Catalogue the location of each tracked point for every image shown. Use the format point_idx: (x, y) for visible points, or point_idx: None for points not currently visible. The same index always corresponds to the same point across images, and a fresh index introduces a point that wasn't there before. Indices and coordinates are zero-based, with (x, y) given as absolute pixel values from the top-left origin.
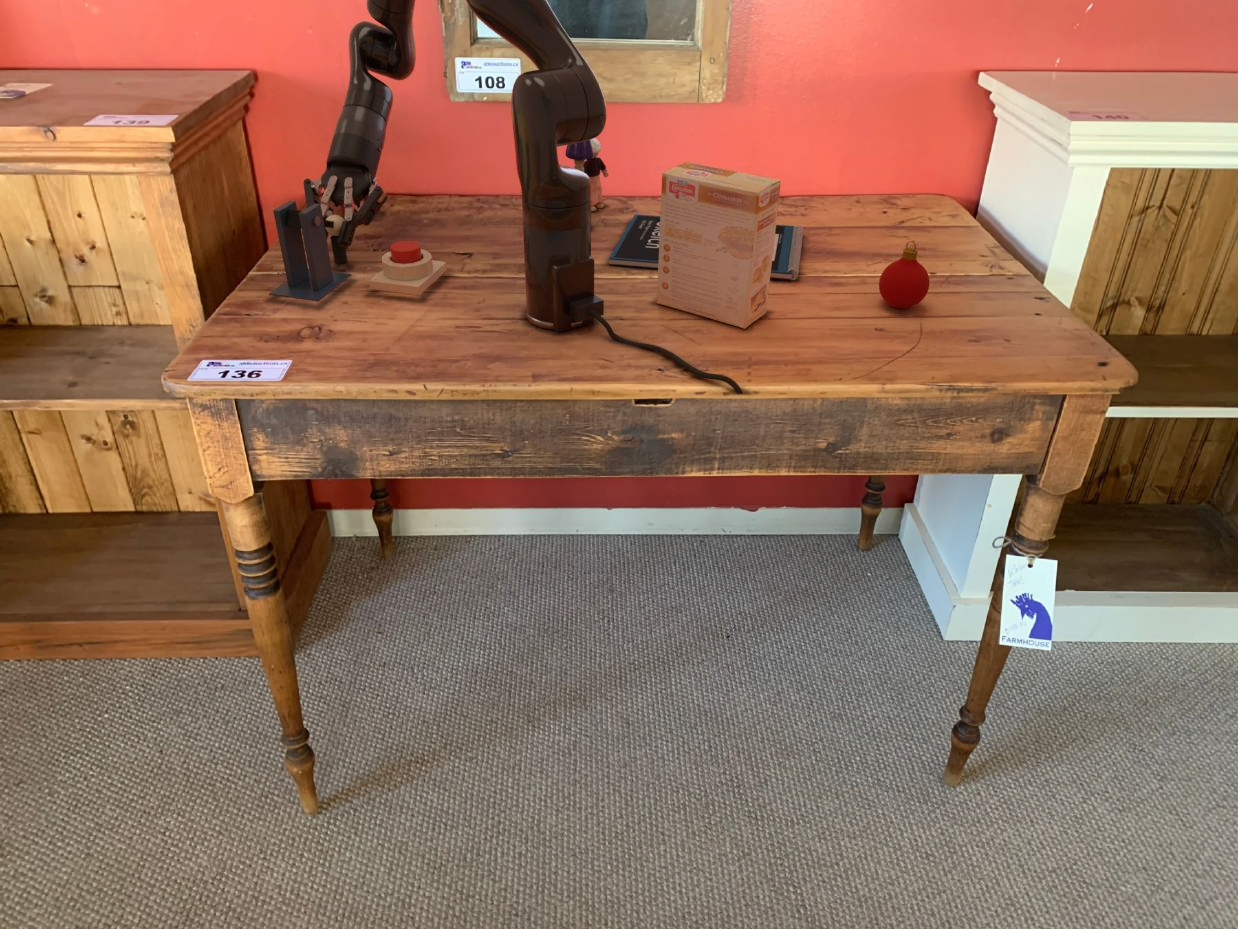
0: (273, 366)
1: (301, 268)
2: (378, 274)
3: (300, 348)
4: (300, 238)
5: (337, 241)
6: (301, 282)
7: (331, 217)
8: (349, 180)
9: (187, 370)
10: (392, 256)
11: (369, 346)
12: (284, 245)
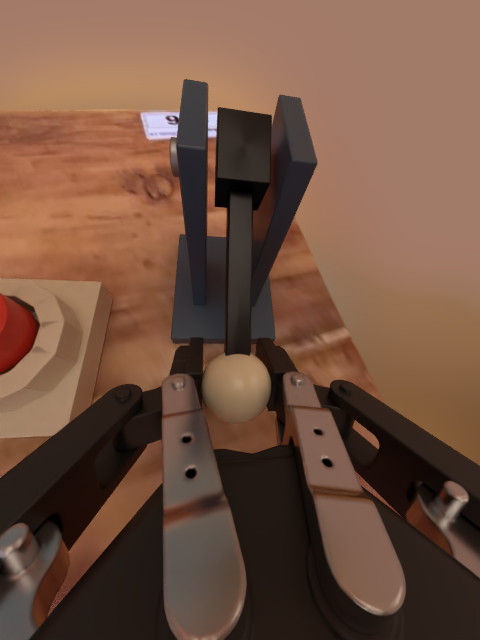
0: (162, 130)
1: None
2: (89, 313)
3: (151, 157)
4: (258, 250)
5: (202, 337)
6: None
7: (241, 364)
8: (194, 582)
9: None
10: (17, 304)
11: (62, 166)
12: None
